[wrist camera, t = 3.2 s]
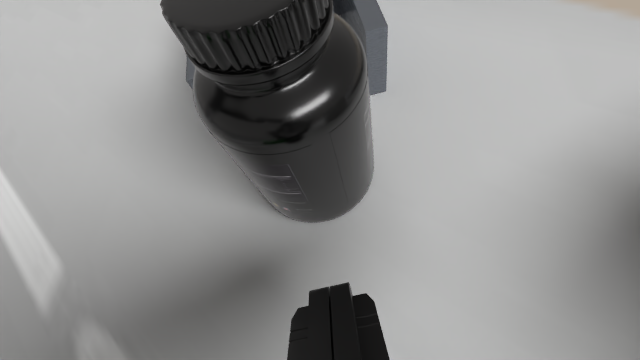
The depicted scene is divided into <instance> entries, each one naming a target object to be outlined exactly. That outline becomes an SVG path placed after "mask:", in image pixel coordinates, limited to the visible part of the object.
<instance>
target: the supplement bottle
mask: <svg viewBox="0 0 640 360" xmlns="http://www.w3.org/2000/svg"><path fill="white" fill-rule="evenodd" d="M160 5H161V8H162V10H163V11H162V14H163V16H164V18H165V20H166V21H167V23H168V24H169V26H170V27H171V29H172V30H173V32H174V33H175V35H176V36H177V38H178V39H179V41H180V42H181V43H182V45H183V46H184V49H185V52H186V54H187V56H188V58H189V59H190V61H191V62H192V63H193V65H194V66H195V72H194V77H193V97H194V102H195V107H196V109H197V112H198V114H199V116H200V118H201V120H202V122H203V123H204V124H205V126H206V127H207V129H208V130H209V131H210V133H211V134H212V135H213V136H214V138H215V139H216V140H217V141H218V142H219V143H220V145H221V146H222V147H223V148H224V149H225V151H226V152H227V153H228V154H229V155H230V156H231V158H232V159H233V160H234V161H235V162H236V164H237V165H238V166H239V167H240V168H241V170H242V171H243V172H244V173H245V174H246V175H247V177H248V178H249V179H250V180H251V181H252V183H253V184H254V185H255V186H256V187H257V188H258V190H259V191H260V192H261V193H262V194H263V196H264V197H265V198H266V199H267V200H268V201H269V202H270V203H271V204H272V206H273V207H274V208H276V209H277V210H278V211H279V212H281V213H282V214H283V215H285V216H287V217H289V218H292V219H294V220H298V221H302V222H324V221H328V220H332V219H335V218H337V217H340V216H341V215H343V214H345V213H347V212H348V211H350V210H351V209H352V208H354V207H355V206H356V205H357V204H358V203H359V202H360V200H361V199H362V198H363V197H364V195H365V194H366V192H367V190H368V188H369V186H370V184H371V181H372V176H373V169H374V158H373V140H372V125H371V109H370V94H369V78H368V66H367V60H366V53H365V50H364V47H363V44H362V42H361V40H360V38H359V36H358V35H357V33H356V32H355V31H354V29H353V28H352V27H351V26H350V25H349V24H348V23H347V22H346V21H345V20H344V19H343V18H342V17H340V16H339V15H338V14H336V13H334V9H333V1H332V0H162V1H161V3H160Z"/></svg>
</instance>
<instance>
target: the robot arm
mask: <svg viewBox="0 0 640 360" xmlns="http://www.w3.org/2000/svg"><path fill="white" fill-rule="evenodd" d="M290 332H291V333H290V339H289V342H290V343H289V348H288V357H287V360H389V356H388V352H387V348H386V345H385V341H384V337H383V333H382V330H381V326H380V322H379V318H378V314H377V311H376V307H375V303H374V301H373V300H372V299H371V298H370V297H369V296H368V295H367V294H366V293H365V294H360V295H356V296H353V295H352V291H351V288H350V284H349V282H348V283H343V284H339V285H334V286H330V288H329V287H325V288H321V289H316V290H312V291H310V292H309V306H306V307H301V308H298V309H297V311H296V313H295V315H294V316H293V318H292V321H291V330H290Z"/></svg>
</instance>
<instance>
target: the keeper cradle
mask: <svg viewBox="0 0 640 360" xmlns="http://www.w3.org/2000/svg"><path fill="white" fill-rule="evenodd" d="M332 1H333V9H334V13H336V14H338V15H339V14H340V15H341V17H342V18H343V19H344V20H345V21H346V22H347V23H348V24H349V25H350V26H351V27H352V28H353V29H354V31H355V32H356V33H357V35H358V36H359V38H360V40H361V42H362V44H363V47H364V50H365V53H366V60H367V66H368V78H369V94H370V95H373V94H376V93H380V92H384V91H386V74H387V32H388V25H387V23H386V21H385V19H384V16H383V14H382V12H381V10H380V7H379V5H378V3H377V1H376V0H332ZM194 72H195V66H194V65H193V63H192V62H191V61H190V59H189V58H188V56H187V69H186V81H187V82H188V84H189V85H190V86H191V88H192V89H193V77H194Z"/></svg>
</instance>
